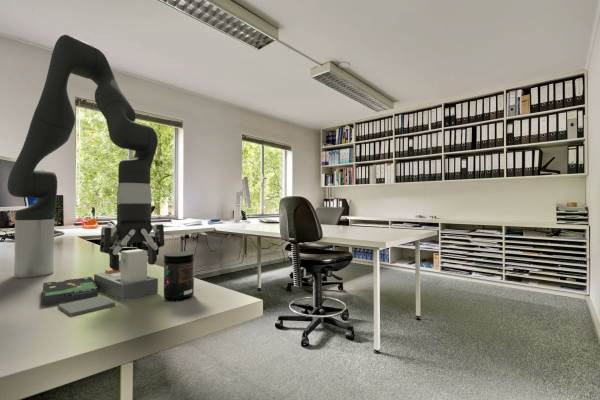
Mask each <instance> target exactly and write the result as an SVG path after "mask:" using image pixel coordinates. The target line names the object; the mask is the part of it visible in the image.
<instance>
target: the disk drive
mask: <svg viewBox="0 0 600 400" xmlns="http://www.w3.org/2000/svg"><path fill="white" fill-rule="evenodd" d="M97 296H99V289H97V285H96V283H95V282H94V277H92V276H88V277H81V278H71V279H64V280H63V281H49V282H43V283H42V293H41V297H42V298H41V300H42V302H41V306H42V307H47V306H51V305H57V304H58V305H60V304H65V303H70V302H74V301H79V300H84V299H88V298H93V297H97Z"/></svg>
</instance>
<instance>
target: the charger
mask: <svg viewBox="0 0 600 400" xmlns="http://www.w3.org/2000/svg"><path fill="white" fill-rule="evenodd" d="M120 259H121V281H120V282H121V283H124V284H127V283H132V282H137V281H142V280H147V275H148V250H145V249H139V248H136V249H128V250H120Z"/></svg>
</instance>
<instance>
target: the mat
mask: <svg viewBox="0 0 600 400" xmlns="http://www.w3.org/2000/svg"><path fill="white" fill-rule="evenodd" d="M114 306H116V302H115V301H113V300H111V299H109V298H106V297H104V296H102V295H98V296H97V297H93V298H88V299H83V300H77V301H71V302H65V303H59V304H58V307H57V308H58V309H59V310H61V311H62V312H64V313H65V314H66V315H68V316H70V317H73V316H77V315H83V314H86V313H90V312H95V311H98V310H102V309H105V308H106V309H107V308H110V307H114Z"/></svg>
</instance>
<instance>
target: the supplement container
mask: <svg viewBox="0 0 600 400" xmlns="http://www.w3.org/2000/svg"><path fill="white" fill-rule="evenodd" d="M194 294H195V252H193V251H173V252H172V251H171V252H166V253H164V254H163V298H164V300H165V301H167V302H183V301H186V300H189V299H191V298H193V296H194Z"/></svg>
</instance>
